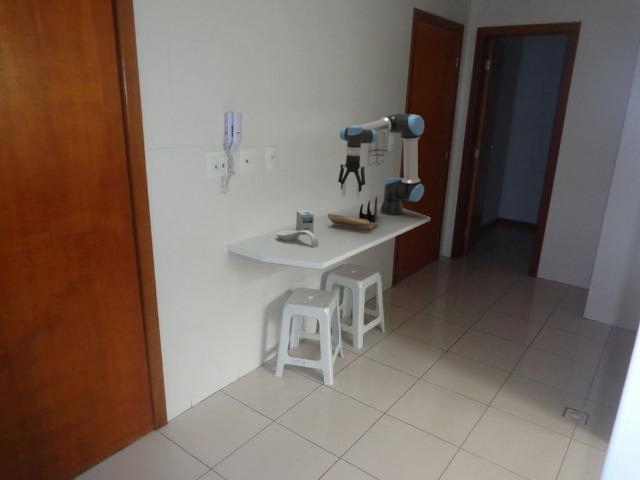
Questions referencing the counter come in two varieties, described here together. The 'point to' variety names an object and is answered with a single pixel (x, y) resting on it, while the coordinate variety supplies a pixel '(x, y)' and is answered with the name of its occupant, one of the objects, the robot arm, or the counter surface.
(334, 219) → the oak plank
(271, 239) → the counter surface
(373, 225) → the walnut board
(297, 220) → the light bulb box
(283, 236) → the white curved piece
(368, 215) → the letter holder
